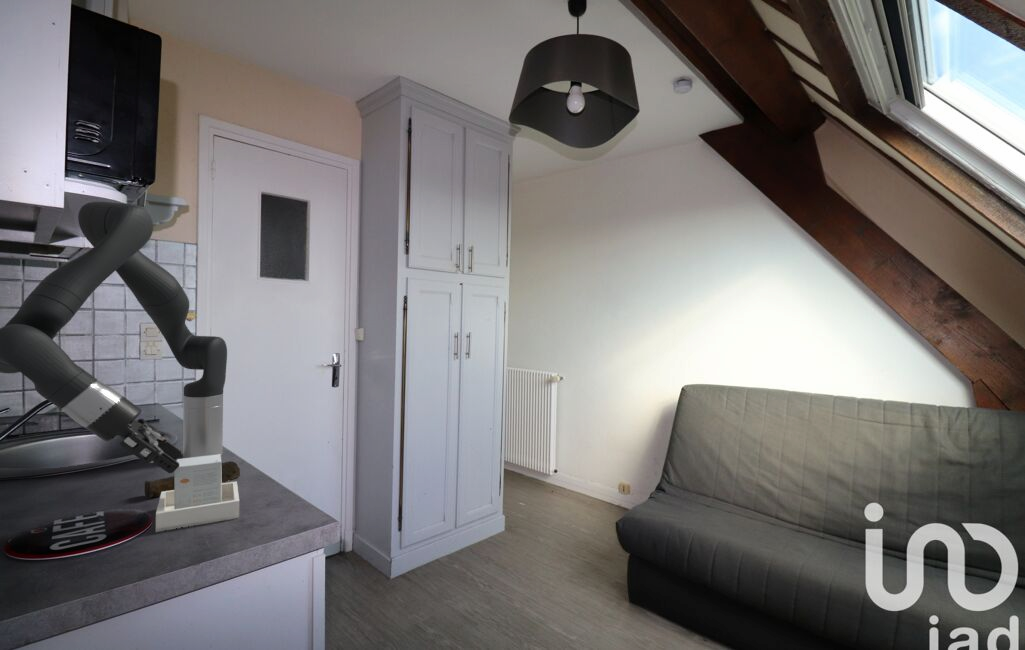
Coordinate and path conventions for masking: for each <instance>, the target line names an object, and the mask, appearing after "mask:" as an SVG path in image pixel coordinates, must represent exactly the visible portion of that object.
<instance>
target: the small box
mask: <svg viewBox="0 0 1025 650" xmlns="http://www.w3.org/2000/svg"><path fill="white" fill-rule="evenodd" d="M175 460H176V461H177V462H178V463H179V467H178V468H177V469H176V470H175V471H174V472H173V473H174V474H173V475H174V509H180V508H186V507H193V506H199V505H206V504H212V503H219V502H222V466H221V463H222V455H221V454H217V455H209V456H200V457H192V458H183V457H182V458H177V459H175Z"/></svg>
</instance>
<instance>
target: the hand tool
mask: <svg viewBox="0 0 1025 650" xmlns="http://www.w3.org/2000/svg"><path fill="white" fill-rule="evenodd" d="M221 466H222V482H224V483H227V482H229V481H228V480H230V481H232V480H235V479H237V477H238V478H239V477H240V476H241V475H240V473H241V470H240V467H239V466H238V464H237V463H236V462H235V461H231V460H230V461H225V462H221ZM234 478H235V479H234ZM231 479H232V480H231ZM226 481H227V482H226ZM170 490H174V476H169V477H165V478H164V477H163V478H159V479H156V480H145V481H144V495H145V498H146V499H147V500H151V499H152V498H153V497H156V498H160V496H161V492H163V491H170Z"/></svg>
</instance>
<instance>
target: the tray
mask: <svg viewBox="0 0 1025 650" xmlns="http://www.w3.org/2000/svg"><path fill="white" fill-rule="evenodd" d="M239 494H240V493H239V487H238V481H228V482H224V483H222V502H219V503H212V504H206V505H199V506H193V507H186V508H180V509H174V490H170V491H163V492H161V495H160V496H159V499H158V500H159V501H158V504H157V508H156V512H155V533H159V532H165V530H166V531H171V530H176V528H177V529H182V528H181V527H183V528H188V526H189V527H194V525H195V526H199V525H206V524H211V523H218V522H223V521H229V520H230V521H231V520H234V519H235V520H236V519H239V518H240V495H239Z"/></svg>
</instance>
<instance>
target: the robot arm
mask: <svg viewBox="0 0 1025 650" xmlns="http://www.w3.org/2000/svg"><path fill="white" fill-rule="evenodd" d="M90 202H91V203H90ZM90 202H86V203H85V204H83V205H82V206H80V209H79V211H78V214H77V218H78V219H77V220H78V226H79V228H80V230H81V232H82V234H83V236H84V238H86V240H87V241H88V242H89V244H90V245H91V246H92V248H91V249H89V250H88V251H85V252H84V253H83V254H81V255H79V256H78V257H75V258H74V259H72V260H70V261H69V262H67V263H65V264H63V265H61V266H59V267H58V268H56V269H54V270H53V271H52V272H50V273H49V274H47V275H46V276H45V278H43V279H42V280H41V281H40V282H39V283H38V284H37V286H36V287H35V288H34V289H33V290H32V291H31V292H30V294H28V296H27V297H25V299H24V301H23V302H22V304H21V305H20V307H19V308H18V311H16V313H15V315H14V316H13V317H12V318H11V319H10V320H8V322H7V323H5V325H4V326H2V327H0V373H2V374H17V373H21V374H22V375H24V376H25V377H26V378H27V379H28V380H29V381H30V382H32V383H33V385H34V389H35V391H36V392H37V393H38V394H39V395H40V396H41V397H42V398H44V399H45V400H47V401H48V402H50V403H51V404H53V405H54V406H55V407H57V408H59V409H60V410H61V411H63V412H64V413H65V414H66V415H67V416H68V417H70V419H72V420H73V421H75V422H76V423H77V424H79V425H81V426H82V427H84V428H85V429H86V430H87V431H89V432H91V433H92V434H93V435H95V436H97V437H98V438H99V439H101V440H102V441H105V442H110V441H112V440H113V439H114V438H115V437H117V436H119V437H120V438H121V439H123V440H122V441H121V442H119V445H120V447H122V448H124V449H125V450H126V451H128V452H130V453H131V454H133V455H134V456H135V457H136V458H139V459H140V460H141V461H142V462H144V463H145V464H147V465H149V464H155V465H157V467H159V468H161V469H162V470H163V471H165V472H166V473H168V474H173V473H174V471H175V470H176V469H177V468H178V467H179V463H178V462H177V461H176V460H177V459H179V457H180V456H181V455H182V459H183V458H192V457H200V456H209V455H217V454H221V456H222V455H223V437H224V435H223V434H224V430H223V428H224V387H225V384H226V380H227V379H226V378H227V377H226V376H227V375H226V374H227V373H226V372H227V362H228V348H227V343H226V341H225V340H224V338H223V337H221V336H213V335H212V336H210V335H196V334H194V333H192V332H191V330H190V329H189V327H188V326H187V325H186V319H187V317H188V314H189V310H190V299H189V297H188V294H186V291H185V290H184V288H183V287H182V285H181V284H180V282H179V281H178V280H177V279H176V277H175V276H174V275H172V274H171V273H170V272H169V271H168V270H167V269H165V268H164V267H162V266H161V265H159V264H158V263H156V262H155V261H153V260H152V259H151V258H149V257H148V256H146V255H145V254H144V253H143V252H141V249H142V248H143V247H144V246H145V245H146V244H147V243H148V242H149V240H150V239H151V237H152V235H153V231H154V223H153V219H152V217H151V216H152V215H150V214H149V212H148V210H147V209H145V208H144V207H142V206H139V205H136V204H131V203H124V202H113V203H112V201H111V202H110V201H109V202H108V201H90ZM114 272H116V273H117V275H118V276H119V277H120V278H121V280H122V281H123V283H125V285H126V286H127V287H128V289H129V291H131V293H132V294H133V296H134V297H135V299H136V300H137V302H138V303H139V304H140V306H141V307H142V309H143V310H144V311H145V312H146V315H148V316H149V318H150V319H151V320H152V322H153V323H154V324H155V326H156V328H157V329H158V331H159V332H160V333H161V335H162V336H163V338H164V340H165V342H166V343H167V345H168V347H169V349H170V350H171V353H172V354H173V356H174V358H175V360H176V361H177V363H179V365H180V366H181V367H183V368H184V369H187V370H196V371H197V370H198V371H199V370H200V371H201V370H202V371H203V372H202V376H201V378H199V379H198V380H196V381H192V382H189V383H186V384H185V385H184V386H183V407H182V409H183V411H182V412H183V413H182V415H183V417H182V419H183V423H182V424H183V425H182V428H183V429H182V431H183V432H182V435H183V436H182V450H181V449H179V448H178V447H176V446H175V445H174V444H173V443H171V442H169V441H168V439H167V437H166V434H165V433H164V432H161V431H160V430H159V429H157V428H156V427H154V426H153V425H152V424H150V423H149V422H148V421H146V420H145V419H144V418H143V417H142V418H141V417H139V416H140V415H141V413H142V409H141V408H140V407H139V406H137V405H136V404H134V403H133V402H132V401H130V400H129V399H128V398H126V397H125V396H123V395H122V394H121V393H120V392H118V391H117V390H115V389H114V388H112V387H111V386H109V385H107V384H106V383H104V382H103V381H101V380H99V379H97V378H96V377H95V376H93V375H92V374H91V373H89V372H88V371H86V370H85V369H84V368H82V367H81V366H79V365H77V363H75V362H74V361H73V359H72V358H71V357H70V356H69V355H68V354H67V353H66V351H65V350H64V349H62V348H61V346H59V345H58V344H57V342H55V340H54V339H55V337H56V335H57V334H58V333H59V332H60V331H61V330H62V329H63V328H64V327H65V326H66V325H67V324H68V323H69V322H70V321H71V320H72V319H73V318H74V316H75V315H76V314H77V313H78V311H79V310H80V309H81V307H82V306H83V305H84V304H85V302H86V301H87V300H88V299H89V297H90V296H91V295H92V294H93V292H95V291H96V290H97V288H98V287H99V286H100V285H101V284H103V283H104V282H105V281H106V279H108V278H109V277H110V276H111V275H112V274H113V273H114ZM138 417H139V419H137V418H138ZM136 419H137V420H136Z"/></svg>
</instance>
